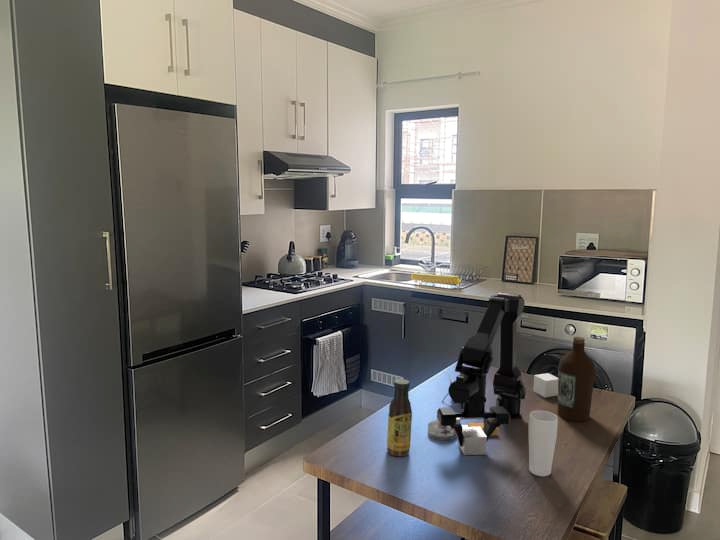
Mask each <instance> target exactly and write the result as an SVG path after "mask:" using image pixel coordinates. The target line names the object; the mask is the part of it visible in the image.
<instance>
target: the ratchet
mask: <svg viewBox="0 0 720 540" xmlns="http://www.w3.org/2000/svg"><path fill="white" fill-rule="evenodd" d="M461 425H462V427H481V429H482V430H483V428H484V422H467V423H466V424H461ZM428 434H429V435H430V436H431V438H432V437H433V438H432V439H434V438H435V439H434V440H438V439H439V441H450V440H453V439H454V438H456V437H457V435H456V432H455V429H453V428H451V427H450V426H442V425H441V424H440V422H439V420H438V418H437V417H436V419H435V420H431V421H429V422H428V424H427V435H428ZM429 435H428V436H429ZM430 436H429V437H430ZM491 436H499V427H497V428H496V429H495V431H494V432H493V433H492V435H491ZM452 438H453V439H452ZM449 439H450V440H449Z"/></svg>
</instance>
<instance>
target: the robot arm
mask: <svg viewBox="0 0 720 540" xmlns="http://www.w3.org/2000/svg"><path fill="white" fill-rule="evenodd" d="M524 308H525V299H524V298H523V296H522V295H521V294H517V293H509V292H500V291H499V292H498V293H497V294H495V295H491V296H490V297H489V298H488V302H487V307H486V310H485V312H484V314H483V317H482V319H481V321H480V323H479V326H478V328H477V330H476V332H475V334H474V335H473V336H471V337H469V338H468V339H467V340H466V342H465V343H464V345H463V346H462V348H461V349H460V352H459V356H458V359H457V361H456V365H455V369H454V372H456V373H459V374H458V375H457V376H456V378H455V380H454V381H452V383H451V385H450V384H449V387H448V391H447V393H449V394H448V396H449V397H450V399H451V403H453V404H458V406H459V409H460V410H462V411H454V409H453V408H452V407H439V408H438V409H437V410H436V419H437V418H438V420H439V422H440V424H441V425H442V426H450V427H451V428H453V429H455V432H456V435H457V436H456V438H457V441H458V442H459V445H460V447H462V425H463V424H462V423H461V420H462V421H463V420H483V423H484V428H483V432H484V433H485V435H486V436H487V442H489V439H490V438H491V436H493V435H492V433H493V432H494V431H495V429H496V428H497V427H498V428H500V427H501V425H510V424H511V419H515V418H517V419H519V418H520V419H521V418H523V416H522V414H521V401H522V400H525V399H526V394H527V392H526V391H527V388H526V386H525V383H524V381H523V379H522V378H523V377H522V372H521V371H520V369H519V368H518V366H517V327H518V325H517V322H518V320H519V319H520V317H521V316H522V314H523V311H524ZM499 327H500V330H499V332H500V333H499V335H500V339H499V340H500V341H499V344H500V345H499V347H500V349H499V350H500V351H499V354H500V355H499V357H500V358H499V362H500V363H499V368H498V370H497V371H496V372H495V373H494V375H493V379H492V385H493V387H492V388H493V394H494V395H497V398H496V400H495V406H490V407H489V410H485V409H486V403H487V398H486V392H487V391H486V390H487V389H486V388H487V374H489V371H490V369H491V365H492V363H493V359H494V358H493V357H494V356H493V354H494V353H493V349H492V343H493V341H494V339H495V337H496V334H497V332H498V329H499ZM458 442H457V443H458ZM459 445H458V446H459ZM460 447H459V448H460Z"/></svg>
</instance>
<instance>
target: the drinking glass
mask: <svg viewBox="0 0 720 540" xmlns="http://www.w3.org/2000/svg"><path fill="white" fill-rule="evenodd" d="M558 419H559V417H558V416H557V415H556V413H553V412H550V411H548V410H543V409H542V410H541V409H539V410H532V411H530V413H529V417H528V425H527V426H528V458H529V459H528V461H529V462H528V470H529V471H530V473H531V474H533V475H534V476H536V477H537V476H538V477H543V478H544V477H548V476H550V475H551V473H552V469H553V468H552V467H553V460H554V455H555V448H556V441H557V436H558V427H559V426H558V424H559V423H558V421H559V420H558Z"/></svg>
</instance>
